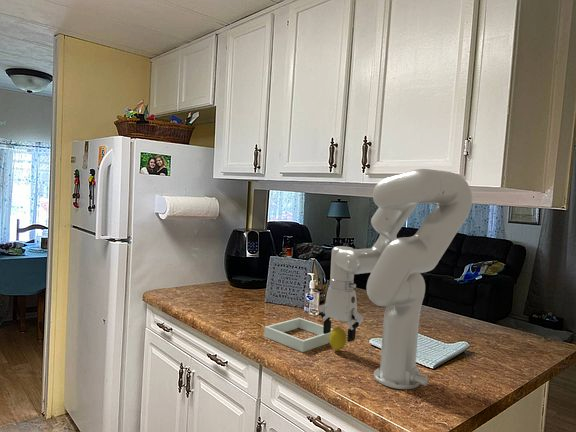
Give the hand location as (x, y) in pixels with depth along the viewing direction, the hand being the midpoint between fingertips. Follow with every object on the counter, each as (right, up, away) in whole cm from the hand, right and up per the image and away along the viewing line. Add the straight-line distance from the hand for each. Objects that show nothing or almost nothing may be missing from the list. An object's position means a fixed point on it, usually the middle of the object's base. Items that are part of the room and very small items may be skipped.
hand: (338, 336), depth 139 cm
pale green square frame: (-12, -3, +10) cm, 16 cm away
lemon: (0, -5, +1) cm, 5 cm away
